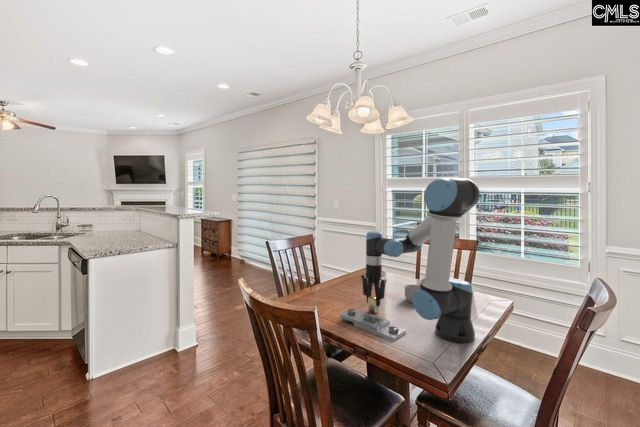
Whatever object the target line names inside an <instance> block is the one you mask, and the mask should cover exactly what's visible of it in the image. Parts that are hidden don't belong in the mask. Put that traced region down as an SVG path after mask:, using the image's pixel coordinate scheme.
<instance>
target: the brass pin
mask: <svg viewBox="0 0 640 427" xmlns="http://www.w3.org/2000/svg"><path fill="white" fill-rule="evenodd" d="M374 299H376V296H373V295H372V296H370V297H369V311H368V313H369V314H375V313H374Z"/></svg>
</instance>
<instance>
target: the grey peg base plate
mask: <svg viewBox="0 0 640 427" xmlns="http://www.w3.org/2000/svg"><path fill="white" fill-rule="evenodd" d="M339 318H341V320H342V321H343V322H347V323H348V322H351V323H353V326H354V327H356V328H358V329H361V330H363V331H366V332H368V333H371V334H373V335H376V336H379V337H381V338H383V339H386V340H388V341H391V342H395V341H397V340H398V339H400V338H401V337H403V336H404V335H405V334H407V329H405V328H403V327H400V326H397V325H393V324H392V323H390V322H391V320H389V319H386V318H384V317H381V316H378V315H375V314H373V313H370V312H367V311H362V310H360V309H357V308H355V307H354V308H349V309H347V311H344V312H342V313H340V314H339Z"/></svg>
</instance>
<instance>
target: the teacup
mask: <svg viewBox="0 0 640 427" xmlns="http://www.w3.org/2000/svg"><path fill="white" fill-rule="evenodd" d="M403 288H404V297H405V299H406V300H407V301H408V302H410V303H412V304H413V302H412V297H413V294H414V293H415V292H416V291H417V290H420V284H405V285H404V287H403Z"/></svg>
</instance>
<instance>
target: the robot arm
mask: <svg viewBox="0 0 640 427" xmlns="http://www.w3.org/2000/svg"><path fill="white" fill-rule="evenodd" d="M479 200H480V189H479V186H478V185H477V184H476V183H475V182H474V181H473V180H471V179H469V178H464V177H463V178H461V177H460V178H456V177H453V178H452V177H443V178H437V179H434V180H432V181H431V182H430V183H428V185H427V186H426V188H425V189H424V193H423V201H424V203H425V206H426V207H427V208H428V216H427V217H426V218H425V219H424V220H423V221H421V222H420V223H419V224H418V225H417V226H416V227H414V228H413V229H412V230H411V231H410V232H409V233H407V235H405V236H402V237H394V238H393V237H392V238H387V237H384V236H383V232H381V231H377V230H375V231H373V230H372V231H368V232H367V233H366V238H365V243H366V244H365V247H366V248H365V250H366V251H365V252H366V253H365V273H363V274H361V275H360V276H361V277H360V278H361V281H362V295H364V296H366V303H367V312H369V297H371V296H373V295H372V291H373V288H374V294H375V297H376V299H374V313H373V314H378V312H380V311H379V308H380V306H381V300H382V299H385V290H386V283H387V279H386V278H384V277H383V276H382V272H383V270H382V269H383V265H382V263H383V262H382V261H383V260H382V259H383V255H384V256H388V257H391V258H393V257H394V258H398V257H399V256H401V255H402V254H409V253H416V252H419V251H420V250H421V249H422V246H423V245H424V243H425V242H427V241H428V240H429V242H428V252H427V258H426V259H427V260H426V268H425V276H424V278H422V279H421V280H420V284H419V285H420V290H417V291H416V292H415V293H414V294H413V297H412V302H413V303H412V302H411V303H412V307H413V308H414V310H415V312H416V313H417V314H418V315H419V316H420V317H421V318H422V319H424V320H427V321H433V320H437V321H436V324H435V328H434V331H435V334H436V335H437V336H438V337H439V338H441V339H442V340H445V341H448V342H452V343H456V344H468V343H472V342H473V341H474V340H475V337H476V336H475V335H476V334H475V333H476V332H475V329H474V325H473V322H472V301H473V285H472V283H470V282H469V281H466V280H464V279H463V280H462V279H459V278H452V277H450V274H451V267H452V260H453V252H454V245H455V244H454V243H455V237H456V230H457V229H456V228H457V223H458V220H460V219H461V218H463V217H462V216H463V215H465V214H466V213H468V212H469V211H470V210H471V209H472V208H474V207H475V206H476V205H477V203H478V201H479Z"/></svg>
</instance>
